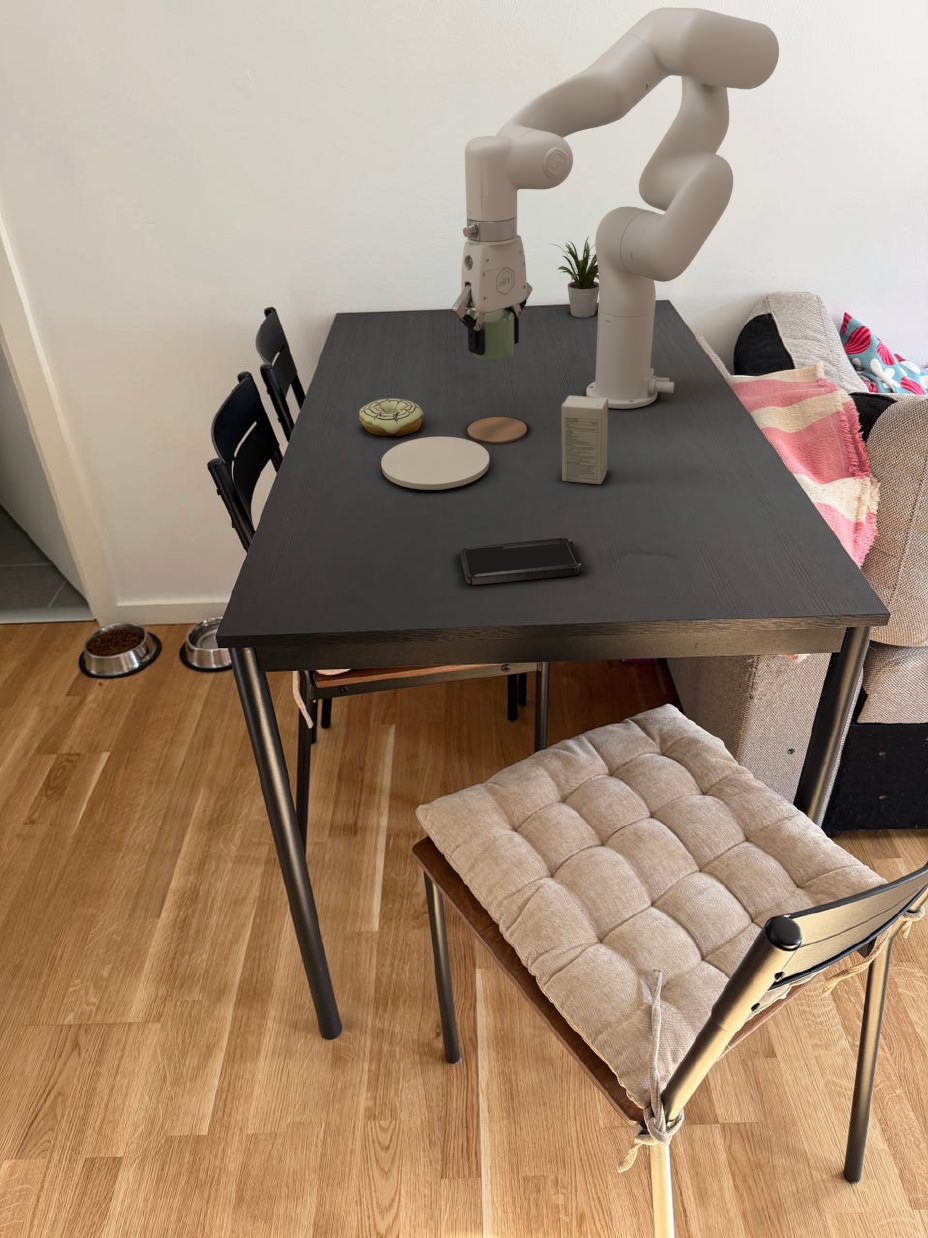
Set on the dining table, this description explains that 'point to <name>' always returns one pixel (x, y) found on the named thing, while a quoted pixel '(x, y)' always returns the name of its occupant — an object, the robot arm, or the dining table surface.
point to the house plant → (582, 282)
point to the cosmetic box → (584, 439)
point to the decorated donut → (391, 417)
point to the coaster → (497, 430)
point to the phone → (520, 561)
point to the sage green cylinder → (498, 335)
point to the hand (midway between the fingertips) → (493, 346)
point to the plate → (435, 463)
